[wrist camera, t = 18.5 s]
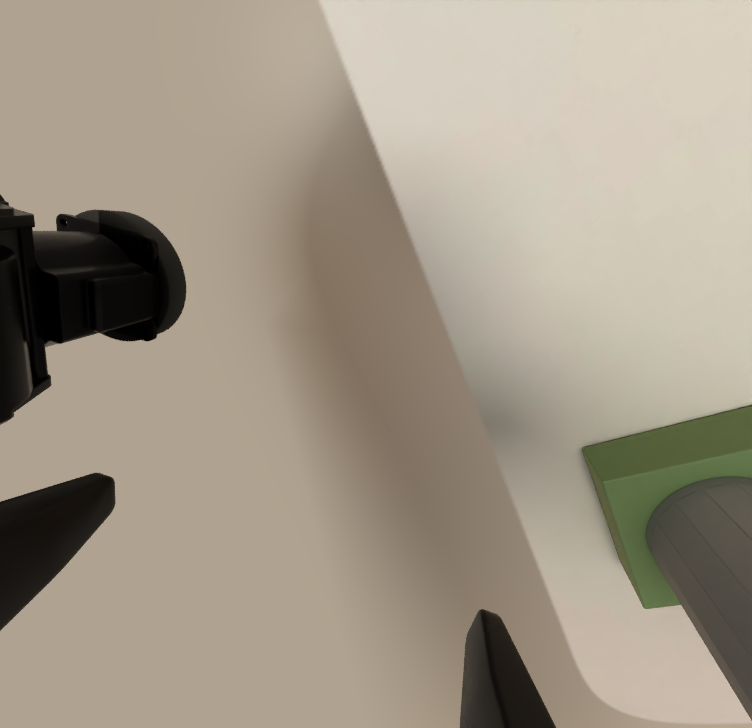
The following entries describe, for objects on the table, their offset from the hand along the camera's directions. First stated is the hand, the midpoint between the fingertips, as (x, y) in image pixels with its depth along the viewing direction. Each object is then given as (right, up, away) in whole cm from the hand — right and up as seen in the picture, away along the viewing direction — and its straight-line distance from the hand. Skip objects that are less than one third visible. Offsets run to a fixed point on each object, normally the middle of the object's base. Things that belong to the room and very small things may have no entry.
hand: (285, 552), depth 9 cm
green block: (+18, -2, +11) cm, 21 cm away
